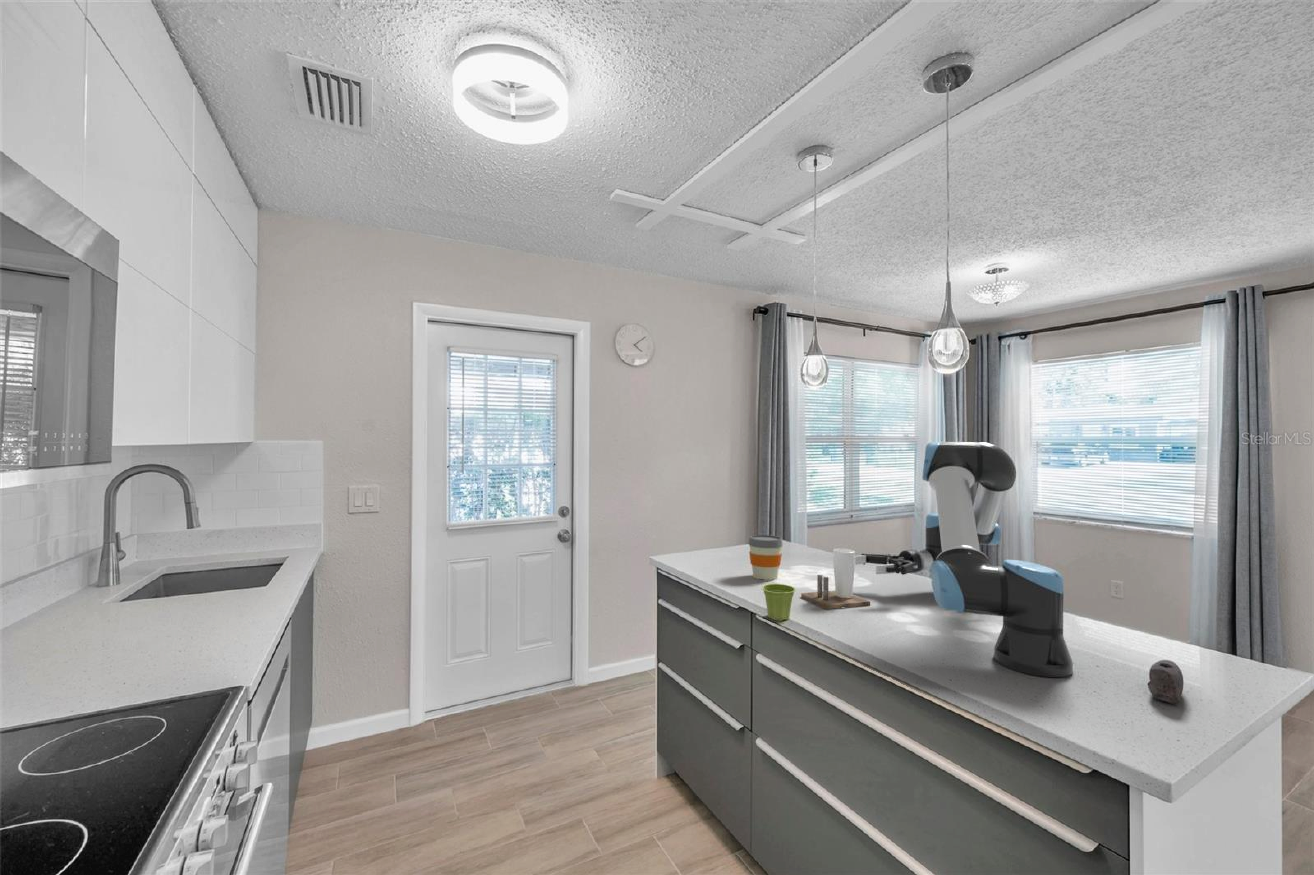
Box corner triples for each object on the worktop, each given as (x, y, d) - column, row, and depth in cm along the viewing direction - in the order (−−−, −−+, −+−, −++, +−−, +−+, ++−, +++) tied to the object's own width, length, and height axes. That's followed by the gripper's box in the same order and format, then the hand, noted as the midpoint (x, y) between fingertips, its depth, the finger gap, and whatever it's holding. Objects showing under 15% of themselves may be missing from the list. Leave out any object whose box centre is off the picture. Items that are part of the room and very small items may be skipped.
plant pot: (793, 624, 154) (794, 593, 154) (760, 620, 157) (760, 590, 157) (796, 614, 163) (796, 585, 163) (764, 611, 166) (764, 582, 166)
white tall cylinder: (829, 596, 177) (829, 550, 177) (838, 592, 182) (838, 547, 182) (849, 601, 173) (850, 553, 173) (858, 596, 178) (858, 550, 178)
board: (842, 593, 186) (842, 569, 186) (870, 605, 172) (870, 579, 173) (801, 596, 181) (801, 572, 181) (826, 609, 168) (826, 582, 168)
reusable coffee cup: (744, 573, 212) (744, 535, 212) (776, 573, 214) (776, 534, 214) (753, 582, 200) (754, 540, 200) (787, 581, 201) (787, 540, 201)
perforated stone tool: (1154, 680, 120) (1154, 648, 120) (1187, 688, 116) (1187, 655, 116) (1144, 702, 110) (1144, 667, 110) (1180, 711, 106) (1180, 675, 106)
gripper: (944, 581, 175) (889, 586, 168) (888, 564, 198) (838, 567, 192) (944, 557, 175) (889, 561, 168) (888, 543, 198) (839, 546, 192)
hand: (862, 565), depth 180 cm, fingers open, 13 cm apart
